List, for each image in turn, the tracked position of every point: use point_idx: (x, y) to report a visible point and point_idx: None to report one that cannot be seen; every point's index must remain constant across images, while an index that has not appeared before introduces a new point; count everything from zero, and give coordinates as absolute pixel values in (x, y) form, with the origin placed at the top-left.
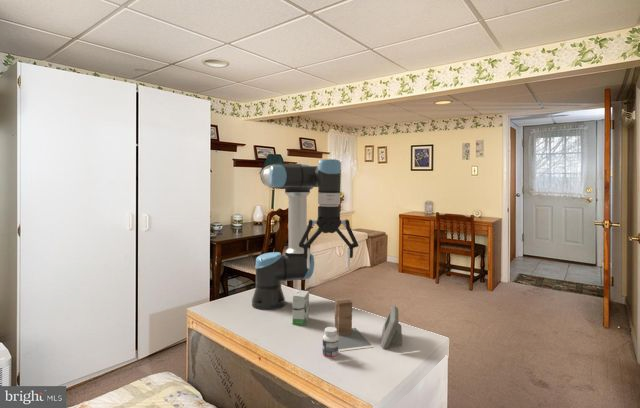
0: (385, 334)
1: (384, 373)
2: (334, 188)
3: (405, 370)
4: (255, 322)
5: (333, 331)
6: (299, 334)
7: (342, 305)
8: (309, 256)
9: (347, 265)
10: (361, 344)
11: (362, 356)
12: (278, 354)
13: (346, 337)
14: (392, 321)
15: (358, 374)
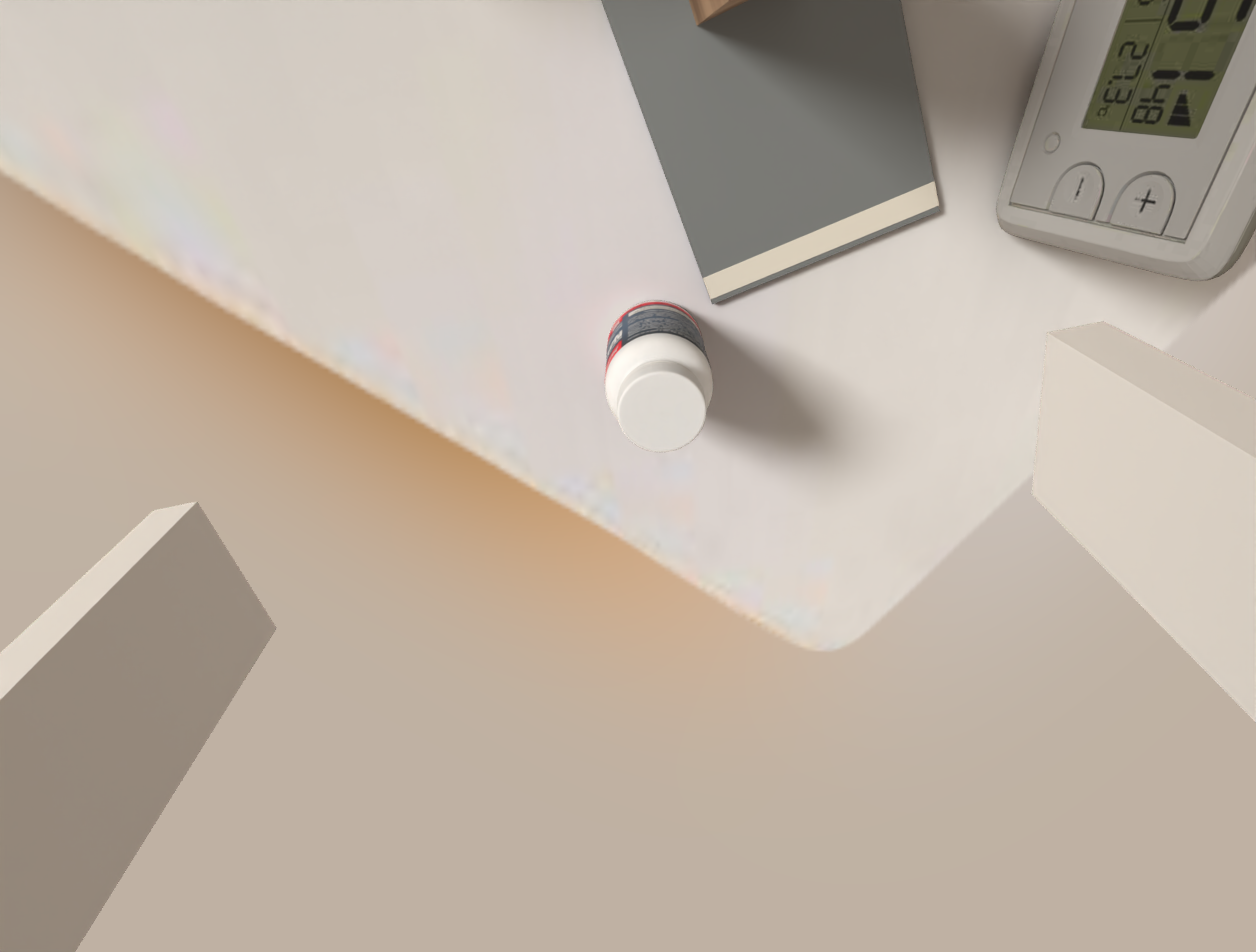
0: (1072, 222)
1: (927, 478)
2: None
3: None
4: None
5: (683, 446)
6: (369, 34)
7: None
8: (129, 858)
9: (1064, 527)
10: (861, 175)
11: (844, 327)
12: (353, 375)
13: (758, 59)
14: (1195, 267)
15: (799, 501)
